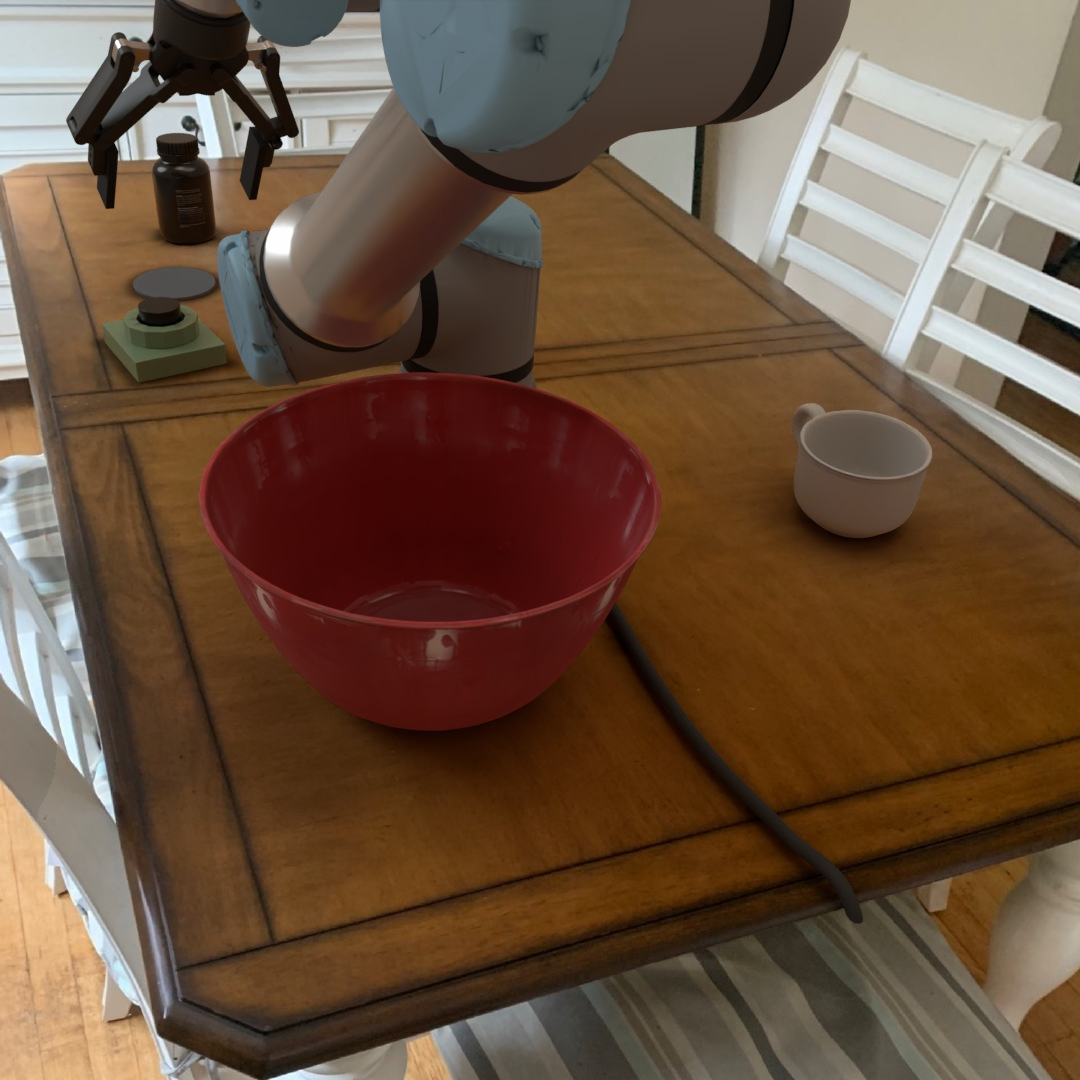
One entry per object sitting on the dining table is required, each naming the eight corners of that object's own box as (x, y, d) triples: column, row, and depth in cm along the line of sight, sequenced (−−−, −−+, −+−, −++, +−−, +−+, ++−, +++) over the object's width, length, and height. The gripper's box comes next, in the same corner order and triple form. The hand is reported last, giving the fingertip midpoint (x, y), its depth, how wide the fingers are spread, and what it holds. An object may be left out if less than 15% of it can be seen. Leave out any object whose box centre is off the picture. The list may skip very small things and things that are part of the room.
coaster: (228, 292, 128) (227, 289, 128) (149, 307, 123) (149, 303, 123) (198, 265, 134) (197, 262, 133) (122, 278, 129) (121, 274, 129)
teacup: (932, 547, 96) (959, 466, 91) (819, 561, 93) (840, 479, 88) (851, 462, 106) (871, 386, 102) (747, 473, 103) (763, 395, 99)
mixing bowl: (496, 893, 64) (512, 691, 55) (129, 697, 74) (92, 501, 65) (695, 629, 84) (729, 451, 75) (385, 505, 95) (383, 336, 86)
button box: (227, 364, 114) (223, 327, 111) (138, 383, 109) (132, 345, 107) (189, 326, 120) (185, 290, 118) (104, 343, 116) (98, 306, 113)
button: (188, 324, 112) (186, 308, 111) (148, 332, 110) (146, 315, 109) (173, 309, 115) (171, 293, 114) (134, 317, 113) (131, 300, 112)
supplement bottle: (224, 229, 144) (215, 132, 137) (206, 248, 138) (195, 148, 131) (171, 223, 144) (159, 127, 137) (151, 242, 138) (138, 142, 132)
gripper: (331, -32, 98) (288, 161, 115) (28, -48, 85) (28, 172, 102) (365, 24, 96) (316, 213, 112) (57, 16, 82) (52, 232, 99)
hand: (179, 194), depth 107 cm, fingers open, 13 cm apart
